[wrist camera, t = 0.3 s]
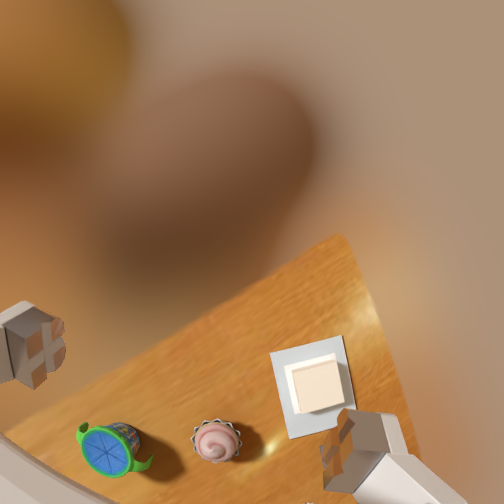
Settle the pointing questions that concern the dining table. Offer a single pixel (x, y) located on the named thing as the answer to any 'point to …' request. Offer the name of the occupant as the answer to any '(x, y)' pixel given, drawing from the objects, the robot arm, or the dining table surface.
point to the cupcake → (216, 441)
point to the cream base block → (317, 386)
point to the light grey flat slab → (282, 366)
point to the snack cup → (111, 449)
